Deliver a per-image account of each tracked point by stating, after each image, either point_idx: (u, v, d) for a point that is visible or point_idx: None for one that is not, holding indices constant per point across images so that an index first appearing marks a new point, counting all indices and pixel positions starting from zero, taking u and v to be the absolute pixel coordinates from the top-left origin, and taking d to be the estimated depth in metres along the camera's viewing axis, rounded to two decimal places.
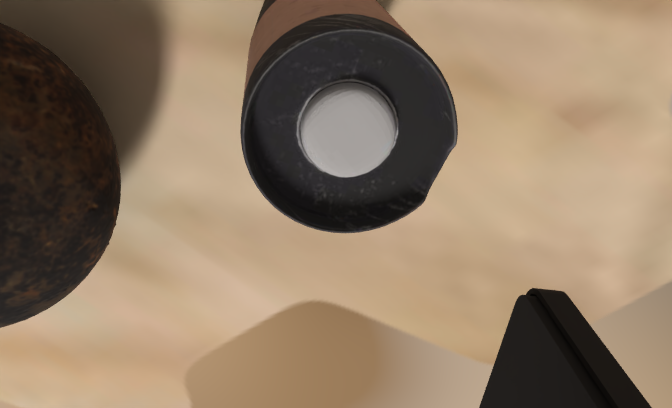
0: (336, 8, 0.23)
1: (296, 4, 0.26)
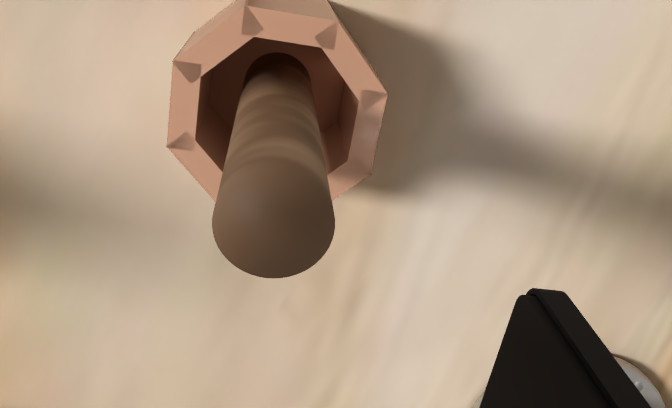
0: None
1: None
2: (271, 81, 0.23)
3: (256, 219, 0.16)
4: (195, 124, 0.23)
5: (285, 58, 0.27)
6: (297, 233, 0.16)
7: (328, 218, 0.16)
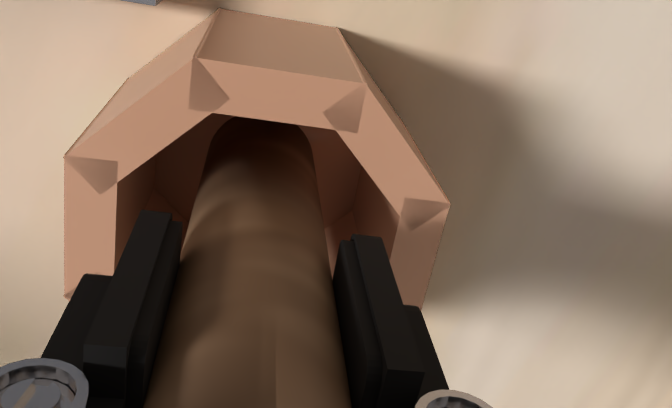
0: None
1: None
2: (245, 188, 0.13)
3: None
4: (113, 260, 0.13)
5: (272, 124, 0.17)
6: None
7: None
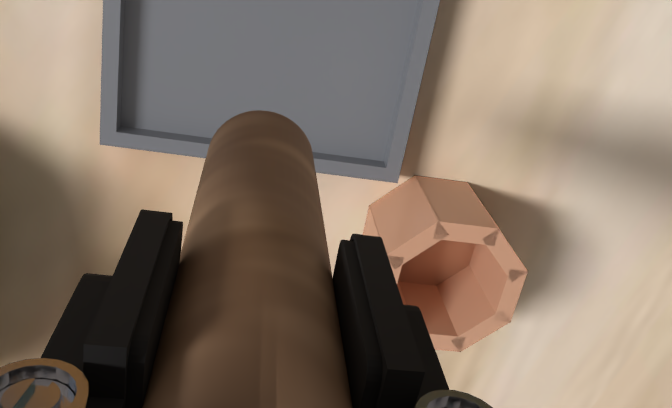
0: None
1: None
2: (245, 188, 0.13)
3: None
4: None
5: (272, 124, 0.17)
6: None
7: None
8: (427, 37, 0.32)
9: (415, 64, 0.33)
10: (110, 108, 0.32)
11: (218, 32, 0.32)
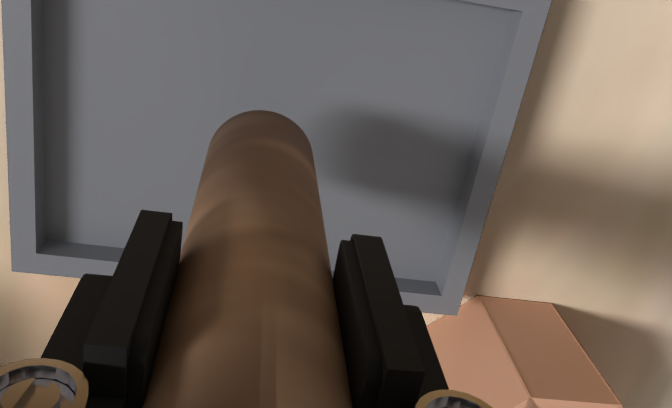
0: None
1: None
2: (245, 188, 0.13)
3: None
4: None
5: (272, 123, 0.17)
6: None
7: None
8: (512, 112, 0.21)
9: (491, 151, 0.21)
10: (25, 220, 0.21)
11: (190, 104, 0.21)
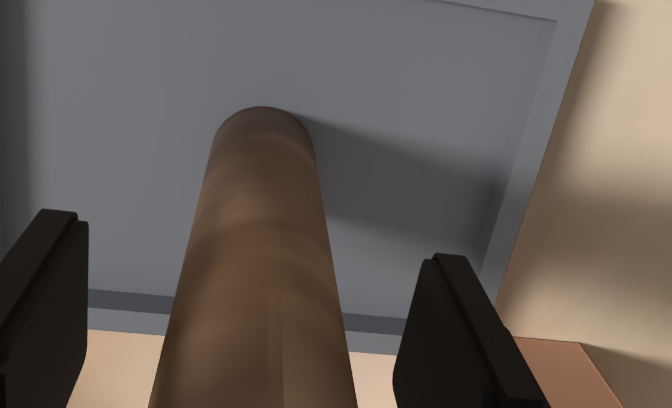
0: None
1: None
2: (250, 180, 0.13)
3: None
4: None
5: (274, 119, 0.17)
6: None
7: None
8: (543, 137, 0.18)
9: (518, 181, 0.19)
10: None
11: (171, 128, 0.18)
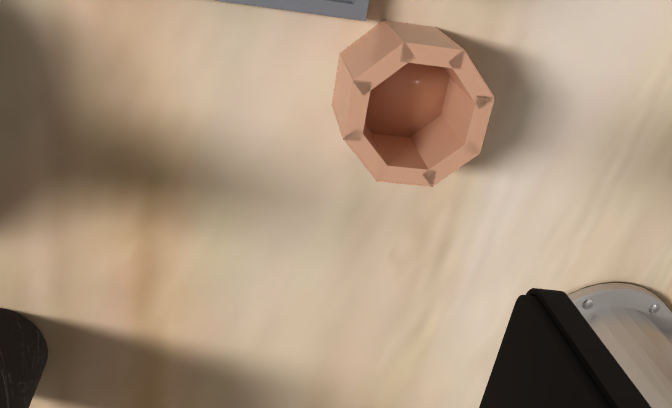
0: None
1: None
2: None
3: None
4: (363, 122, 0.34)
5: None
6: None
7: None
8: None
9: None
10: None
11: None
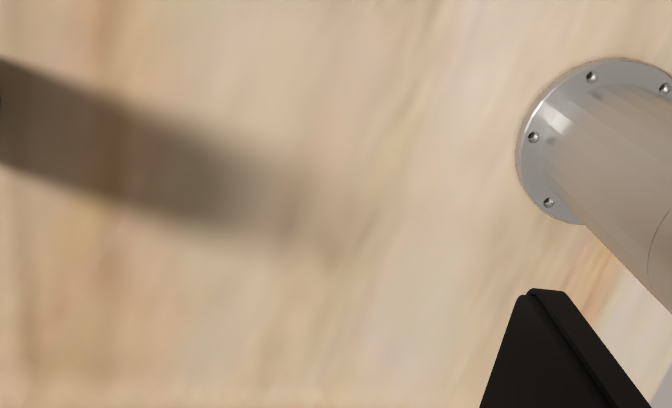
0: None
1: None
2: None
3: None
4: None
5: None
6: None
7: None
8: None
9: None
10: None
11: None
